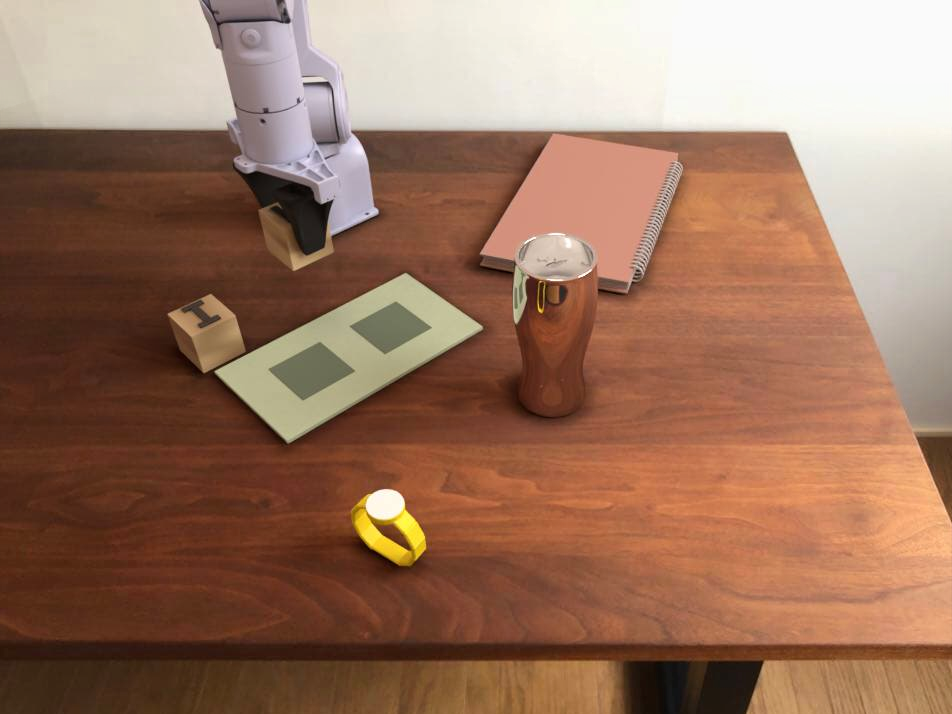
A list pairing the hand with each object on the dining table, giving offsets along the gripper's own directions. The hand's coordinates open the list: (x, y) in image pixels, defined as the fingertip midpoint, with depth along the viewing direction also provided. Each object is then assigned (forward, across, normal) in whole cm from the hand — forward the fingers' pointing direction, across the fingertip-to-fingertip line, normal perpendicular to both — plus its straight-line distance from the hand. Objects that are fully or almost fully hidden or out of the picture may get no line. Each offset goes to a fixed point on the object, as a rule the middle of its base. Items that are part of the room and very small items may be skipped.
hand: (298, 238), depth 82 cm
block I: (+8, -1, -10) cm, 13 cm away
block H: (+1, 0, 0) cm, 1 cm away
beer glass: (+9, +25, +9) cm, 28 cm away
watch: (+9, +29, -12) cm, 32 cm away
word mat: (+8, +8, -1) cm, 11 cm away
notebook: (+9, +6, +33) cm, 34 cm away
